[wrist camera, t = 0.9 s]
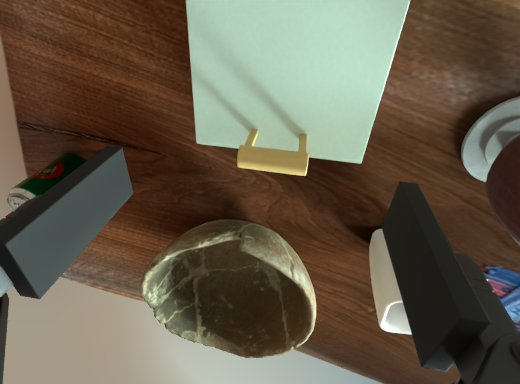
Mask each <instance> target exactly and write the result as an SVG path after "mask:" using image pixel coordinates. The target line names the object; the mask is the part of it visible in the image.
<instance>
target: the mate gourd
mask: <svg viewBox="0 0 520 384" xmlns="http://www.w3.org/2000/svg"><path fill="white" fill-rule="evenodd" d="M461 159H462V162H463V164H464V167H465V168H466V169H467V170H468V172H469V173H470V174H471V175H472V176H474V177H475V178H477V179H479V180H481V181H484V182H486V192H487V195H488V198H489V201H490V203H491V206H492V208H493V210H494V212H495V214H496V216H497V218H498V220H499V221H500V223H501V224H502V225H503V226H504V228H505V229H506V230H507V231H508V233H509V234H510V235H511V236H512V237H513V239H514V240H515V241H516V242H517V243H518V244H519V245H520V96H519V97H516V98H513V99H510V100H507V101H505V102H503V103H501V104H499V105H497V106H495V107H493V108H492V109H490V110H489V111H487V112H486V113H485V114H484V115H482V116H481V117H480V118H479V119H478V120H477V121H476V122H475V123H474V124H473V126H472V127H471V128H470V129H469V131H468V133H467V134H466V136H465V138H464V141H463V143H462V148H461Z"/></svg>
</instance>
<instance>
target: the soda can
mask: <svg viewBox="0 0 520 384" xmlns="http://www.w3.org/2000/svg"><path fill="white" fill-rule="evenodd" d="M84 163H85V160H84V159H82V158H81V157H80V156H78V155H76V154H72V153H65V154H63V155H61V156H60V157H58V158H57V159H55V160H54V161H52V162H51V163H49V164H48V165H46V166H45V167H43V168H42V169H40V170H39V171H37V172H36V173H34V174H33V175H31V176H30V177H28V178H27V179H25V180H24V181H22V182H21V183H19V184H18V185H16V186H15V187H13V188H12V189H11V190H10V192H9V195H7V196H6V202H7V204H8V206H9V207H10V208H11V209H12V210H13V211H15V209H17V208H18V207H19V206H21V205H22V204H23V203H25V202H26V201H28V200H30V199H32V198H34V197H37V196H39V195H43V194H44V193H46V192H47V191H48V190H49V189H51V188H52V187H53V186H55V185H56V184H57V183H59V182H60V181H61V180H63V179H64V178H65V177H67V176H68V175H69V174H71V173H72V172H73V171H75V170H76V169H77V168H78V167H80V166H81V165H82V164H84Z"/></svg>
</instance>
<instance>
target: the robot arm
mask: <svg viewBox="0 0 520 384" xmlns="http://www.w3.org/2000/svg"><path fill="white" fill-rule="evenodd" d="M132 194H133V190H132V186H131V182H130V178H129V174H128V169H127V165H126V161H125V157H124V153H123V149H122V147H115V146H106V147H105V148H104V149H102V150H101V151H100V152H98V153H97V154H96V155H94V156H93V157H92V158H90V159H89V160H88V161H86V162H85V163H84V164H82V165H81V166H80V167H78V168H77V169H76V170H75V171H73V172H72V173H71V174H69V175H68V176H67V177H65V178H64V179H63V180H61V181H60V182H59V183H57V184H56V185H55V186H53V187H52V188H51V189H49V190H48V191H47V192H46V193H44V194H43V195H39V196H37V197H34V198H32V199H30V200H28V201H26V202H25V203H23V204H22V205H21V206H19V207H18V208H17V209H15V211H13V212H11V213H10V214H8V215H7V216H6V218H5V219H4V218H3V219H2V220H0V384H2V383H3V370H4V357H5V344H6V332H7V318H8V306H9V298H8V295H7V293H6V292H7V291H8V290H9V289H10V288H11V286H14V287H15V289H16V290H17V292H18V293H19V294H20V296H25V297H31V298H36V299H40V298H41V297H42V296H43V295H44V294H45V293H46V291H47V290H48V289H49V288H50V287H51V286H52V285H53V284H54V283H55V281H56V280H57V279H58V278H59V277H60V276H61V275H62V274H63V272H64V271H65V270H66V269H67V268H68V267H69V266H70V264H71V263H72V262H73V261H74V260H75V259H76V258H77V257H78V255H79V254H80V253H81V252H82V251H83V250H84V249H85V247H86V246H87V245H88V244H89V243H90V242H91V241H92V240H93V238H94V237H95V236H96V235H97V234H98V233H99V232H100V230H101V229H102V228H103V227H104V226H105V225H106V224H107V223H108V221H109V220H110V219H111V218H112V217H113V216H114V215H115V213H116V212H117V211H118V210H119V209H120V208H121V207H122V206H123V204H124V203H125V202H126V201H127V200H128V199H129V198H130V196H131V195H132ZM382 231H383V234H384V238H385V241H386V245H387V248H388V252H389V256H390V259H391V263H392V266H393V270H394V273H395V277H396V280H397V284H398V287H399V291H400V294H401V298H402V301H403V305H404V308H405V312H406V315H407V319H408V322H409V326H410V329H411V333H412V336H413V340H414V343H415V347H416V350H417V354H418V357H419V361H420V364H421V367H423V368H429V369H434V370H440V371H445V372H447V371H448V370H449V369H450V368H451V366H452V365H453V364H454V363H456V366H457V368H458V371H459V373H460V377H459V378H458V379H457V380H456V381H455V382H454V383H453V384H520V333H519V331H518V329H517V328H516V326H515V324H514V323H513V321H512V319H511V318H510V316H509V314H508V313H507V311H506V309H505V308H504V306H503V304H502V303H501V301H500V299H499V298H498V296H497V294H496V293H494V289H493V288H492V286H491V284H490V283H489V282H487V280H488V279H487V278H486V276H485V274H484V273H483V271H482V269H481V268H480V266H479V265H478V264H477V263H476V262H475V261H473V260H472V259H471V258H470V257H469V256H468V255H467V254H460V253H454V251H453V249H452V247H451V245H450V244H449V242H448V240H447V238H446V236H445V234H444V232H443V231H442V229H441V227H440V225H439V223H438V221H437V219H436V217H435V216H434V214H433V212H432V210H431V208H430V206H429V204H428V202H427V201H426V199H425V197H424V195H423V193H422V191H421V189H420V187H419V186H418V184H415V183H407V182H399V185H398V188H397V190H396V193H395V195H394V198H393V200H392V203H391V205H390V208H389V210H388V213H387V215H386V218H385V220H384V223H383V225H382Z"/></svg>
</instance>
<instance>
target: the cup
mask: <svg viewBox="0 0 520 384" xmlns="http://www.w3.org/2000/svg"><path fill="white" fill-rule="evenodd" d="M369 259H370V273H371V281H372V288H373V295H374V301H375V306H376V311H377V316H378V321H379V326H380V327H381V329H383V330H385V331H388V332H394V333H403V334H412V333H411V329H410V326H409V322H408V319H407V315H406V312H405V308H404V305H403V301H402V298H401V294H400V291H399V287H398V284H397V280H396V277H395V273H394V270H393V266H392V263H391V259H390V256H389V252H388V248H387V245H386V241H385V238H384V234H383V231H382V229H378V230H376V231H374V232H373V234H372V238H371V242H370V246H369Z"/></svg>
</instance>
